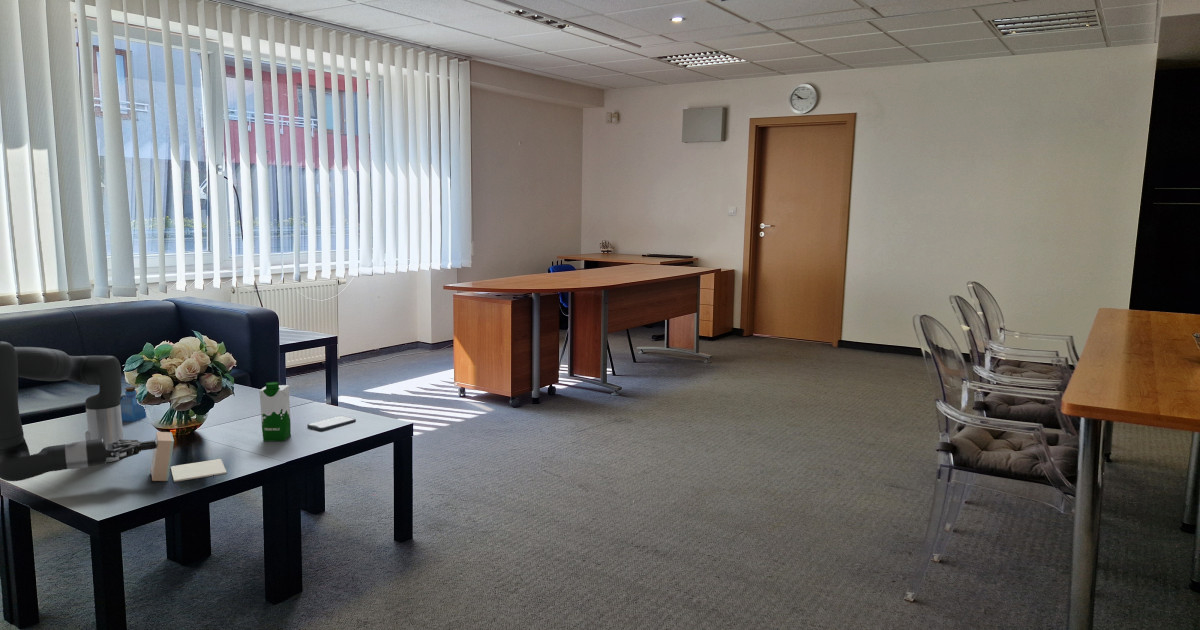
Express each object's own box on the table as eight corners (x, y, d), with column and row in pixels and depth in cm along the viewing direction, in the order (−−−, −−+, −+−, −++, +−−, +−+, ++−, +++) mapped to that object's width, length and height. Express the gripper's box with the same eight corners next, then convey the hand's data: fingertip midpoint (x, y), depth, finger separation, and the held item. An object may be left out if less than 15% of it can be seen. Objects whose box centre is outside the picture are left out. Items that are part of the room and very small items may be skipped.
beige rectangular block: (152, 480, 227) (158, 440, 226) (150, 470, 235) (156, 431, 235) (167, 480, 229) (174, 440, 229) (165, 470, 237) (171, 432, 237)
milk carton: (259, 442, 266) (256, 385, 263) (268, 434, 275) (265, 378, 272) (286, 441, 266) (283, 384, 263) (294, 434, 275) (291, 378, 272)
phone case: (341, 419, 296) (305, 428, 283) (341, 415, 296) (305, 424, 283) (357, 423, 292) (321, 432, 278) (357, 419, 291) (321, 428, 278)
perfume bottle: (146, 417, 295) (143, 386, 293) (134, 421, 289) (131, 390, 287) (131, 416, 296) (128, 385, 294) (119, 421, 290) (116, 389, 288)
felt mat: (174, 481, 228) (173, 480, 228) (170, 468, 240) (170, 466, 240) (226, 473, 236) (226, 471, 235) (220, 460, 247) (220, 458, 247)
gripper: (83, 447, 215) (155, 437, 225) (85, 435, 227) (153, 426, 236) (86, 473, 217) (157, 462, 226) (87, 460, 228) (155, 450, 237)
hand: (155, 444), depth 231 cm, fingers closed
